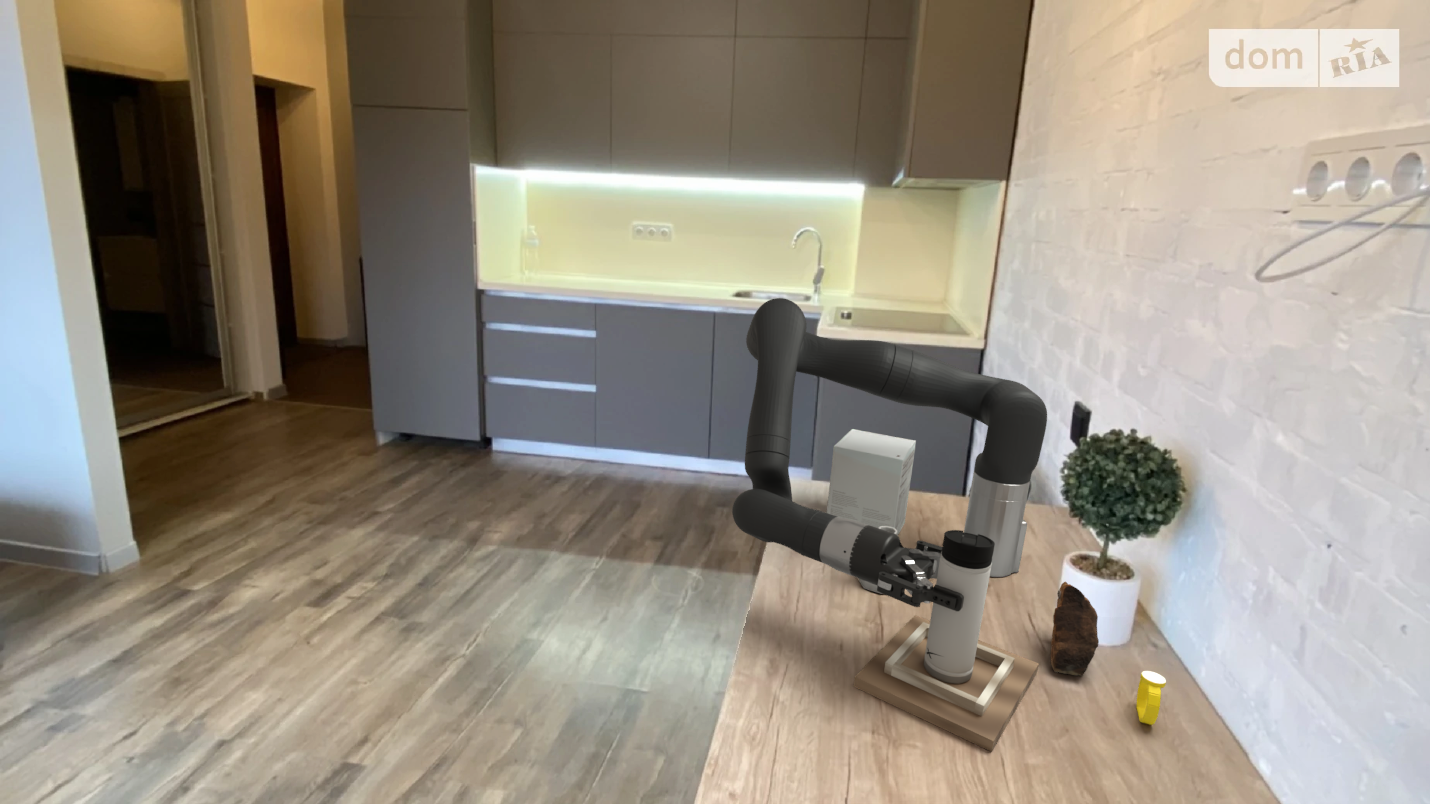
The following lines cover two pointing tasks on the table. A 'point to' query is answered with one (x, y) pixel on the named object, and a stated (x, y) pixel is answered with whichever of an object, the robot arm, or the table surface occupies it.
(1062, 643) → the decorative rock
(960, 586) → the travel mug
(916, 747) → the table surface
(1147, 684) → the watch
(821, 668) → the table surface
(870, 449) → the supplement box
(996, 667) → the wooden square tray
